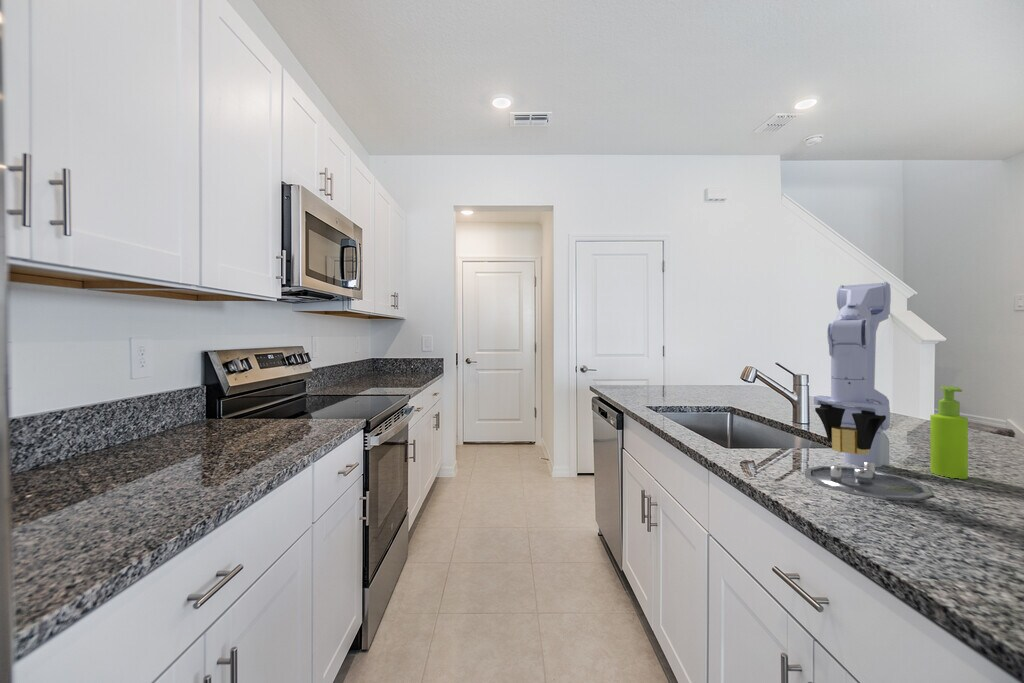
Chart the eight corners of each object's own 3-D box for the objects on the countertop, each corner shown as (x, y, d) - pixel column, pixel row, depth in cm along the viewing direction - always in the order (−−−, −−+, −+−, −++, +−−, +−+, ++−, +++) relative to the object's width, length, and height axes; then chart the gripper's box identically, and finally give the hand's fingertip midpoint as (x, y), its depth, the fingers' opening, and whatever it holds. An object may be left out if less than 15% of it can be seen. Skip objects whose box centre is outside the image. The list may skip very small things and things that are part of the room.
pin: (833, 484, 90) (833, 465, 90) (843, 486, 89) (843, 467, 89) (828, 485, 90) (828, 466, 90) (838, 488, 88) (838, 468, 88)
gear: (825, 447, 91) (825, 426, 91) (852, 447, 91) (852, 426, 91) (847, 454, 85) (847, 431, 85) (876, 454, 85) (876, 431, 85)
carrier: (838, 467, 102) (838, 450, 102) (951, 495, 84) (951, 474, 84) (784, 479, 94) (784, 461, 94) (897, 512, 75) (897, 490, 75)
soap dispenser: (938, 478, 94) (938, 387, 94) (926, 469, 100) (926, 384, 100) (975, 482, 91) (975, 388, 91) (960, 473, 98) (960, 385, 98)
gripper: (801, 376, 94) (801, 437, 94) (867, 382, 80) (867, 455, 80) (829, 375, 95) (829, 436, 95) (898, 381, 81) (898, 453, 81)
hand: (848, 445), depth 88 cm, fingers closed on gear, 6 cm apart
